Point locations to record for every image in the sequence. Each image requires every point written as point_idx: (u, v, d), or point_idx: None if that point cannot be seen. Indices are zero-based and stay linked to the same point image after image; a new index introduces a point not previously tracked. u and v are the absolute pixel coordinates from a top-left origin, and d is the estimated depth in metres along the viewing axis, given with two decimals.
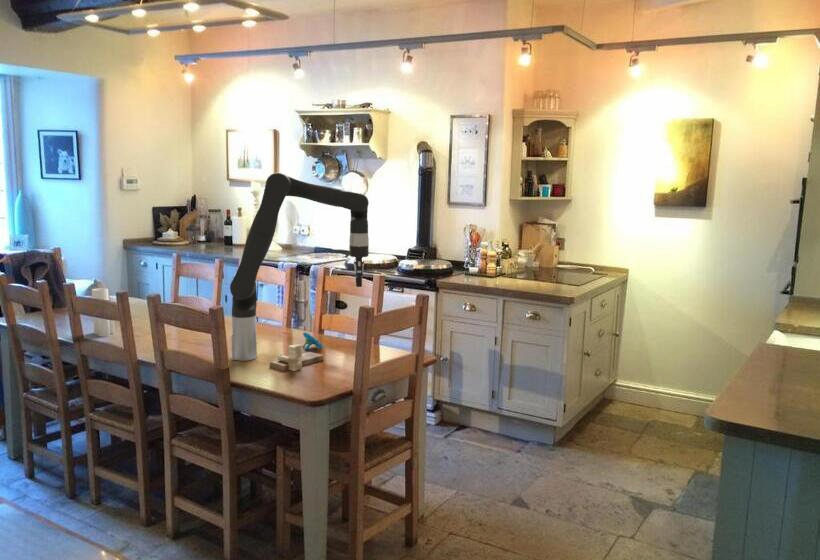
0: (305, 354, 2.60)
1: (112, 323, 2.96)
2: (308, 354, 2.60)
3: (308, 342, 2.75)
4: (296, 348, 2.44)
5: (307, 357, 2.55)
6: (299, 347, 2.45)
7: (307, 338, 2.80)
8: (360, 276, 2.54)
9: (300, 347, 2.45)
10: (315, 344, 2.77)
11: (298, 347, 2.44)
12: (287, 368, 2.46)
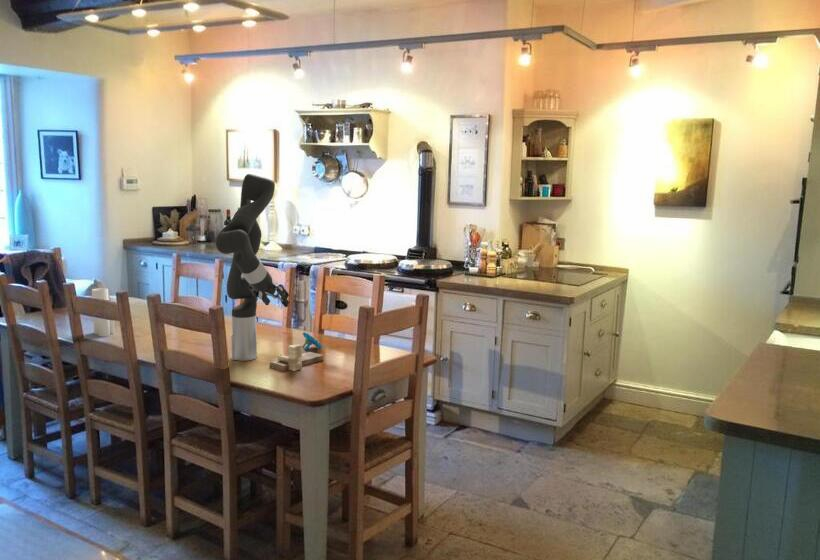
0: (305, 354, 2.60)
1: (112, 323, 2.96)
2: (308, 354, 2.60)
3: (308, 342, 2.75)
4: (296, 348, 2.44)
5: (307, 357, 2.55)
6: (299, 347, 2.45)
7: (307, 338, 2.80)
8: None
9: (300, 347, 2.45)
10: (315, 344, 2.77)
11: (298, 347, 2.44)
12: (287, 368, 2.46)
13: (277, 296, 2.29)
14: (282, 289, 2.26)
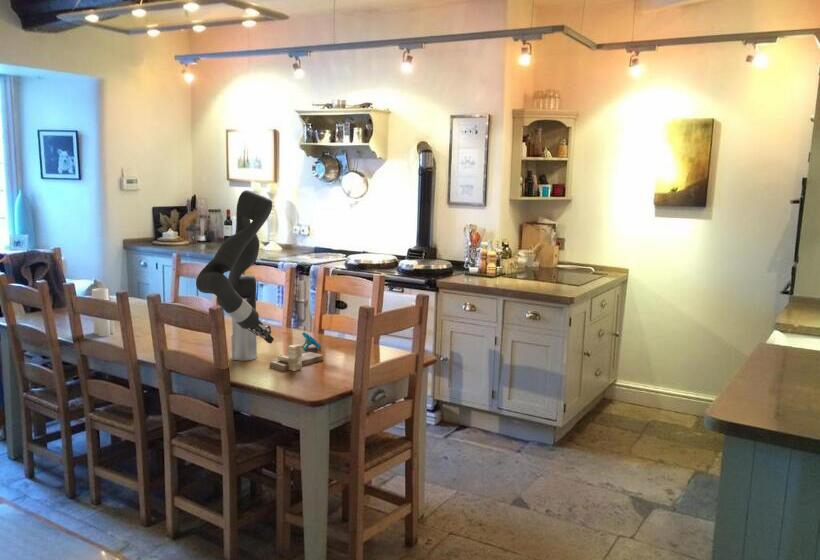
0: (305, 354, 2.60)
1: (112, 323, 2.96)
2: (308, 354, 2.60)
3: (307, 342, 2.75)
4: (296, 348, 2.44)
5: (307, 357, 2.55)
6: (299, 347, 2.45)
7: (307, 338, 2.80)
8: (258, 334, 2.34)
9: (300, 347, 2.45)
10: (314, 344, 2.77)
11: (298, 347, 2.44)
12: (287, 368, 2.46)
13: (262, 334, 2.30)
14: (269, 330, 2.28)
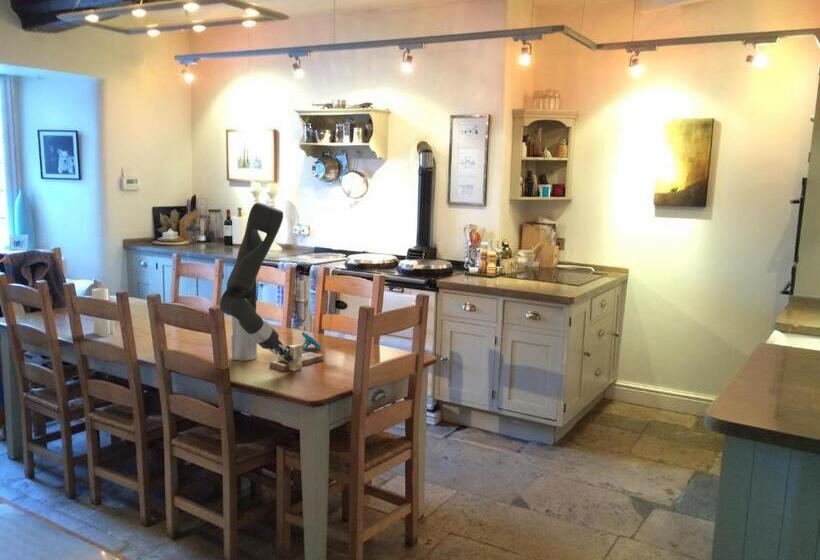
0: (305, 354, 2.60)
1: (112, 323, 2.96)
2: (308, 354, 2.60)
3: (306, 342, 2.75)
4: (296, 348, 2.44)
5: (307, 357, 2.55)
6: (299, 347, 2.45)
7: (306, 338, 2.80)
8: None
9: (300, 347, 2.45)
10: (314, 344, 2.77)
11: (298, 347, 2.45)
12: (287, 368, 2.46)
13: (281, 353, 2.38)
14: (288, 350, 2.36)
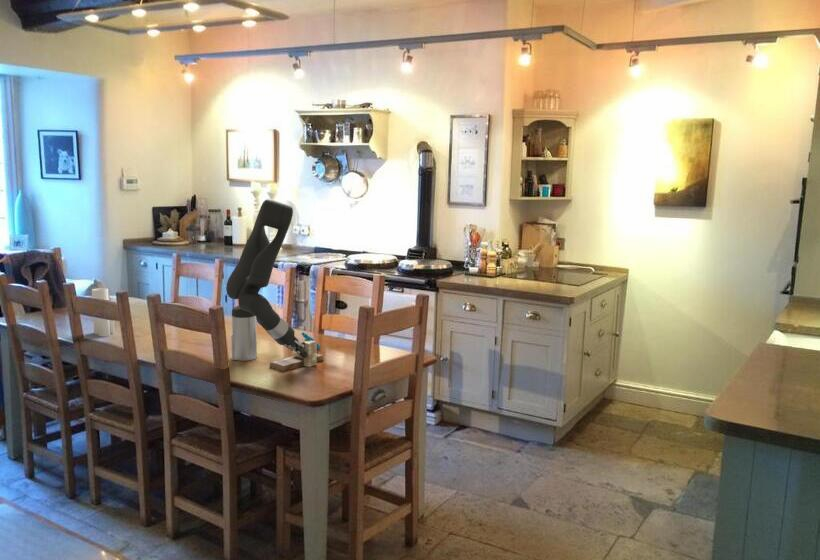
0: None
1: (112, 323, 2.96)
2: None
3: None
4: (311, 344, 2.50)
5: None
6: (314, 343, 2.51)
7: (306, 338, 2.80)
8: (293, 349, 2.48)
9: (315, 343, 2.51)
10: None
11: (313, 343, 2.50)
12: (287, 368, 2.46)
13: (297, 349, 2.44)
14: (304, 346, 2.41)
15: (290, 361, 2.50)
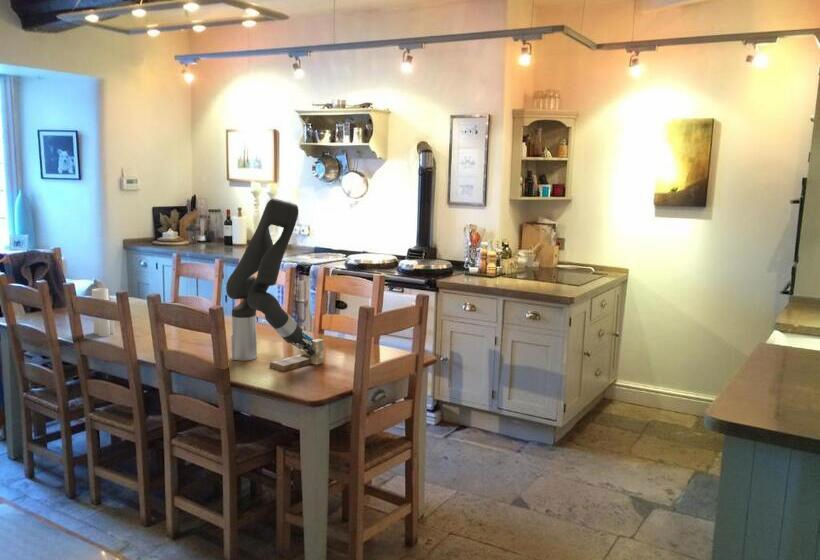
0: None
1: (112, 323, 2.96)
2: None
3: None
4: (318, 342, 2.52)
5: (307, 357, 2.55)
6: (321, 341, 2.54)
7: None
8: (300, 347, 2.51)
9: (322, 341, 2.54)
10: None
11: (320, 341, 2.53)
12: (287, 368, 2.46)
13: (304, 347, 2.47)
14: (311, 344, 2.44)
15: (290, 361, 2.50)
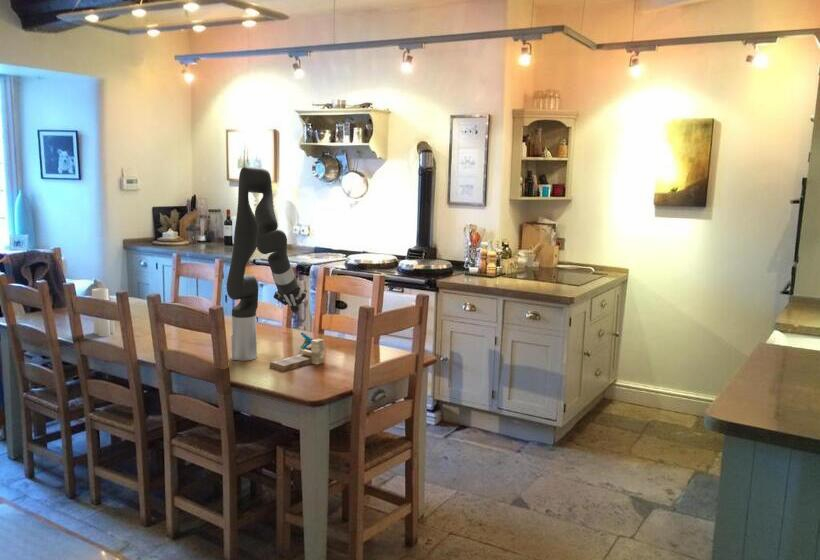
0: None
1: (112, 323, 2.96)
2: None
3: (305, 342, 2.75)
4: (319, 342, 2.53)
5: (307, 357, 2.55)
6: (322, 341, 2.54)
7: (306, 338, 2.80)
8: None
9: (323, 341, 2.54)
10: None
11: (321, 341, 2.53)
12: (287, 368, 2.46)
13: (295, 300, 2.45)
14: None
15: (290, 361, 2.50)
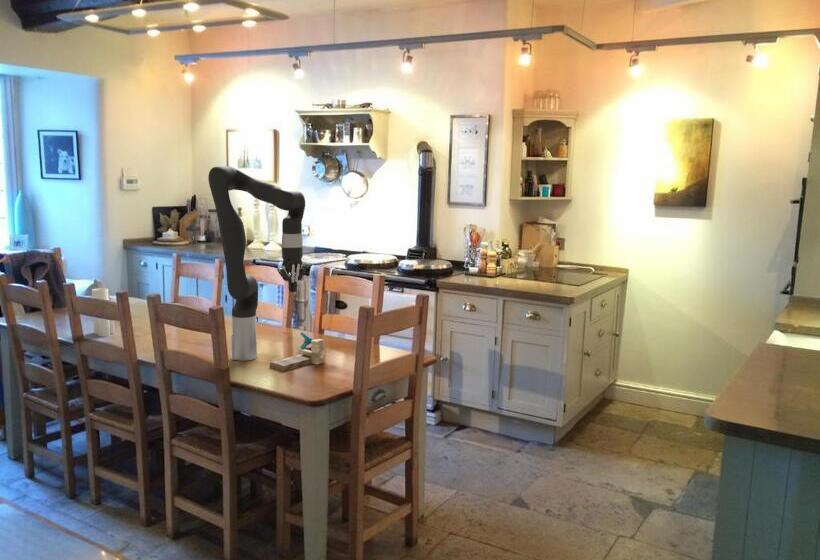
0: None
1: (112, 323, 2.96)
2: None
3: (305, 342, 2.75)
4: (319, 342, 2.53)
5: (307, 357, 2.55)
6: (322, 341, 2.54)
7: (306, 338, 2.80)
8: None
9: (323, 341, 2.54)
10: None
11: (321, 341, 2.53)
12: (287, 368, 2.46)
13: None
14: None
15: (290, 361, 2.50)
